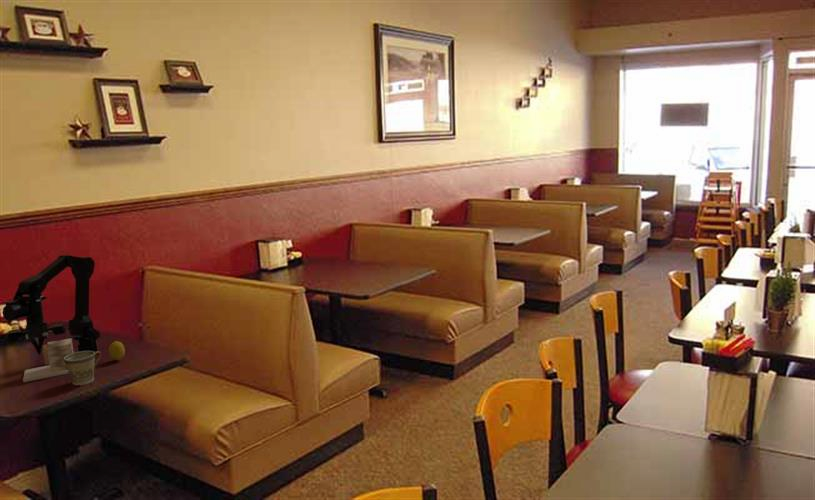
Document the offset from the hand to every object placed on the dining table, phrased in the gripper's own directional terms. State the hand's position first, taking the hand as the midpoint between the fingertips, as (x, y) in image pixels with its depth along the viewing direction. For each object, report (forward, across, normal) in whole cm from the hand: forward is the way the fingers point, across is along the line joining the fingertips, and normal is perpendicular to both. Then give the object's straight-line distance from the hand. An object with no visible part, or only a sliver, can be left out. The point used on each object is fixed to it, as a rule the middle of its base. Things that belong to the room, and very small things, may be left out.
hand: (39, 354), depth 243 cm
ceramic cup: (+7, +15, -19) cm, 25 cm away
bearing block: (+7, +7, 0) cm, 10 cm away
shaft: (+3, +6, 0) cm, 7 cm away
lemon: (+7, +26, -2) cm, 27 cm away
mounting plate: (+7, +3, 0) cm, 8 cm away
